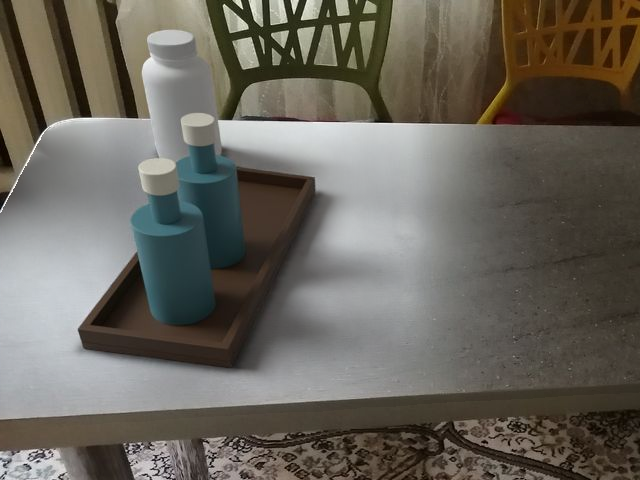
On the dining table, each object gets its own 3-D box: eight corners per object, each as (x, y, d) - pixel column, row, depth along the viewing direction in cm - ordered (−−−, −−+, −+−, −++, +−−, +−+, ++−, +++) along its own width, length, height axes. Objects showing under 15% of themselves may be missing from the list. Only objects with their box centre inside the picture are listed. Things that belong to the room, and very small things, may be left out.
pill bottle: (146, 150, 96) (123, 31, 87) (203, 136, 101) (188, 21, 91) (175, 176, 92) (154, 53, 82) (233, 160, 97) (220, 42, 87)
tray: (231, 368, 68) (228, 349, 66) (83, 348, 68) (77, 329, 66) (315, 193, 93) (315, 176, 91) (207, 179, 93) (204, 162, 91)
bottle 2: (235, 272, 77) (218, 137, 68) (178, 264, 77) (153, 128, 68) (252, 241, 82) (239, 110, 72) (198, 234, 82) (178, 102, 72)
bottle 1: (203, 329, 70) (179, 187, 60) (140, 321, 70) (106, 178, 60) (224, 292, 75) (205, 154, 65) (164, 284, 75) (136, 145, 65)
